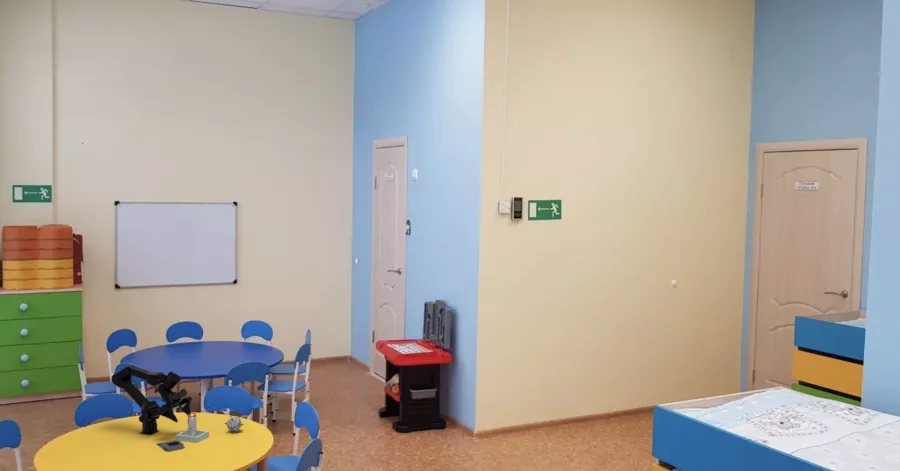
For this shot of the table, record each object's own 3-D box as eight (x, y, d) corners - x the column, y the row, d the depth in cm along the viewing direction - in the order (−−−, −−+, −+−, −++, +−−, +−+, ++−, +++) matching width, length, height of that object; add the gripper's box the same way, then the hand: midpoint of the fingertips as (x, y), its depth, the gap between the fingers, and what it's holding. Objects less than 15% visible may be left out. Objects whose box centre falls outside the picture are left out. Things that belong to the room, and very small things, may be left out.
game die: (237, 437, 389) (249, 421, 391) (231, 437, 381) (243, 420, 383) (224, 427, 391) (236, 411, 393) (218, 426, 383) (230, 409, 385)
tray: (175, 442, 370) (175, 435, 370) (188, 435, 380) (188, 429, 379) (197, 444, 367) (197, 437, 367) (209, 438, 376) (209, 431, 376)
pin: (187, 439, 371) (187, 415, 370) (188, 437, 375) (188, 413, 374) (196, 439, 372) (195, 415, 371) (197, 436, 375) (196, 412, 375)
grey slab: (155, 445, 364) (155, 439, 364) (174, 442, 370) (174, 436, 370) (166, 454, 353) (166, 447, 353) (185, 450, 359) (185, 443, 359)
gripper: (162, 389, 367) (179, 414, 364) (189, 380, 384) (206, 405, 381) (149, 402, 371) (166, 428, 367) (177, 393, 388) (194, 418, 384)
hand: (184, 419), depth 375 cm, fingers open, 9 cm apart
